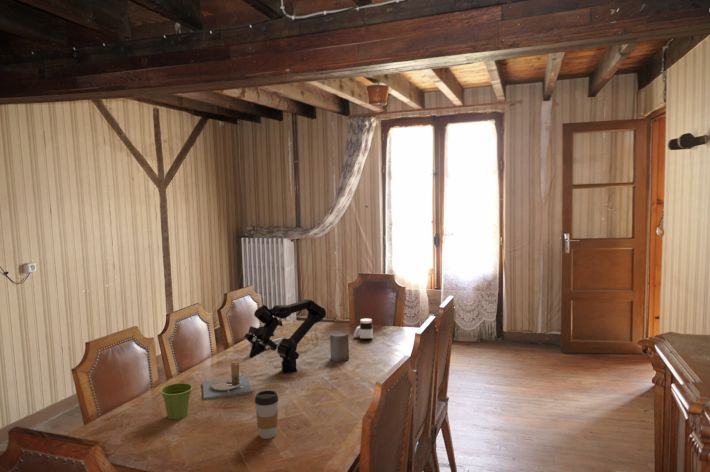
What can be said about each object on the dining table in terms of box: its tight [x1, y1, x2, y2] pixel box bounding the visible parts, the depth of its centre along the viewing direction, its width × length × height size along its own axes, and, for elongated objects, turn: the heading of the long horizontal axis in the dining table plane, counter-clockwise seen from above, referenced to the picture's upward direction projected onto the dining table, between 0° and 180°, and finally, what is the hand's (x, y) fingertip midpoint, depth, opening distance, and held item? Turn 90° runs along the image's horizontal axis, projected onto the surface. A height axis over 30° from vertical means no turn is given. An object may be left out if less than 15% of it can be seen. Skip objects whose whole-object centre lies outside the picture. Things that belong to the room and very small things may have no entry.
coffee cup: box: [254, 390, 279, 440], centre depth 174 cm, size 8×8×15 cm
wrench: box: [249, 337, 285, 348], centre depth 274 cm, size 8×2×30 cm
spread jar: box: [353, 317, 374, 342], centre depth 291 cm, size 12×11×12 cm
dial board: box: [202, 375, 253, 401], centre depth 219 cm, size 20×20×2 cm
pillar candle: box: [329, 330, 350, 363], centre depth 255 cm, size 10×10×15 cm
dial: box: [211, 362, 241, 391], centre depth 218 cm, size 13×13×10 cm
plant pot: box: [160, 382, 194, 420], centre depth 191 cm, size 12×12×11 cm
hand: (250, 357), depth 222 cm, fingers closed
